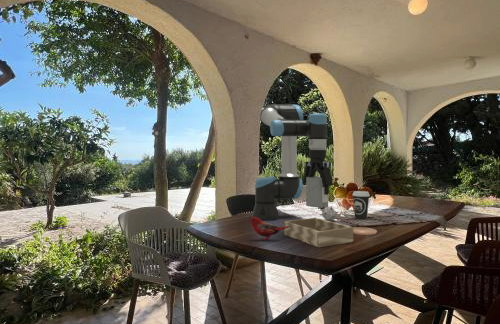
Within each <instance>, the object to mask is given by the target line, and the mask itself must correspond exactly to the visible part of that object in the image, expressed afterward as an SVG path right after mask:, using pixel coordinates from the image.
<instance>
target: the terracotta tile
mask: <svg viewBox="0 0 500 324" xmlns="http://www.w3.org/2000/svg"><path fill="white" fill-rule="evenodd" d="M377 234H378V230H377V229H375V228H371V227H364V226H357V227H353V235H361V236H374V235H377Z"/></svg>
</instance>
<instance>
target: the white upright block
mask: <svg viewBox="0 0 500 324" xmlns="http://www.w3.org/2000/svg"><path fill="white" fill-rule="evenodd" d="M305 186H306V189H305V191H306V192H305V194H306V195H305V199H306V200H305V205H306V206H307V207H309V208H310V207H311V208H324V207H329V201H328V202H322V186H323V183H322V178H321V177H320V176H314V177H306V183H305Z"/></svg>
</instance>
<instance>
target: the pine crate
mask: <svg viewBox="0 0 500 324" xmlns="http://www.w3.org/2000/svg"><path fill="white" fill-rule="evenodd" d="M286 226H290V227H288V228H285V229H283V235H284V236H287V237H288V238H289V237H290V238H292V239H295V240H297V239H298V241H300V240H301V241H300V242H303V243H305V242H306V244H307V245H308V244H309V245H311V246H314V247H317V248H325V247H330V246H331V247H332V246H335V245H336V246H337V245H343V244H347V243H352V242H354V233H353V228H354V227H352V226H348V225H346V224H342V223H338V222H335V221H334V222H333V221H331V220H326V219H321V218H318V217H311V218H310V217H309V218H301V219H294V220H287V221H286V220H285V221H283V227H286Z"/></svg>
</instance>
